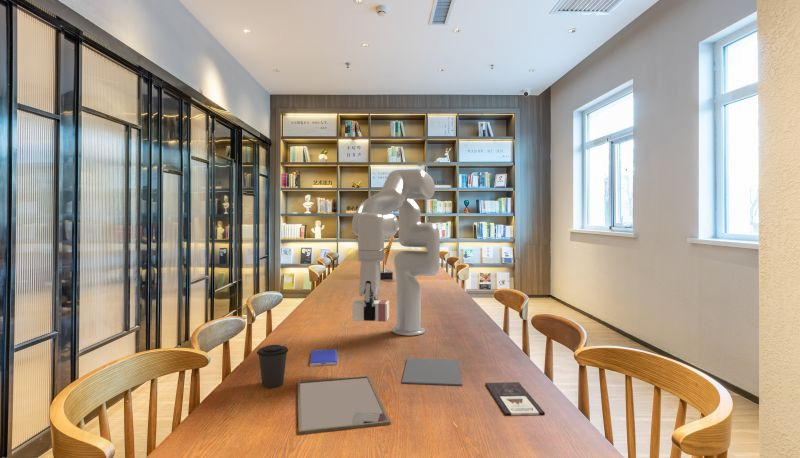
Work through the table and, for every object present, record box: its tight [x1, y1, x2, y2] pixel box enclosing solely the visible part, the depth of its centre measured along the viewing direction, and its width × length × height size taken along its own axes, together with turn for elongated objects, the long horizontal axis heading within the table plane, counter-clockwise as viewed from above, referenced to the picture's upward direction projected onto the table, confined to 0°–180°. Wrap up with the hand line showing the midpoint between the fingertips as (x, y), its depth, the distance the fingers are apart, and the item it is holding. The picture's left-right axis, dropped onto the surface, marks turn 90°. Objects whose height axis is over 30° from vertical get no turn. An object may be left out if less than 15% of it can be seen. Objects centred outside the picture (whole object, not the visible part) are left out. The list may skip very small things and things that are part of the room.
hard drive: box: [309, 348, 338, 367], centre depth 136 cm, size 2×8×12 cm
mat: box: [401, 357, 463, 387], centre depth 125 cm, size 20×16×1 cm
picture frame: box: [297, 375, 391, 435], centre depth 104 cm, size 19×1×28 cm
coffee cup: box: [256, 344, 289, 389], centre depth 114 cm, size 8×8×10 cm
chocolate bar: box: [484, 381, 546, 417], centre depth 106 cm, size 9×1×18 cm
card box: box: [351, 299, 390, 323], centre depth 126 cm, size 10×5×5 cm, turn 85°
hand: (371, 317), depth 126 cm, fingers closed on card box, 5 cm apart
